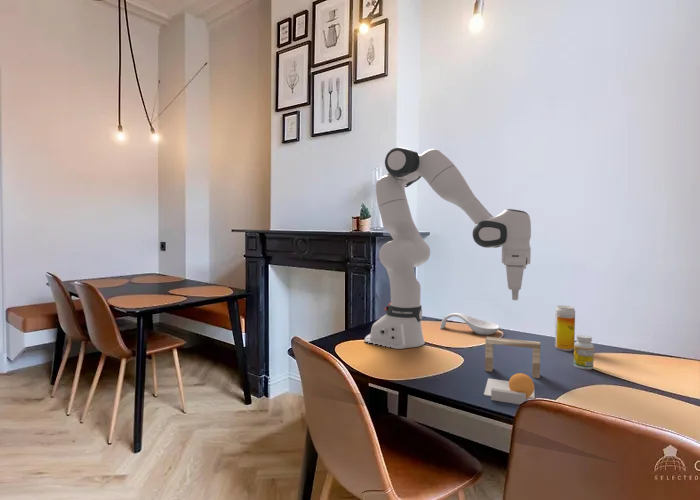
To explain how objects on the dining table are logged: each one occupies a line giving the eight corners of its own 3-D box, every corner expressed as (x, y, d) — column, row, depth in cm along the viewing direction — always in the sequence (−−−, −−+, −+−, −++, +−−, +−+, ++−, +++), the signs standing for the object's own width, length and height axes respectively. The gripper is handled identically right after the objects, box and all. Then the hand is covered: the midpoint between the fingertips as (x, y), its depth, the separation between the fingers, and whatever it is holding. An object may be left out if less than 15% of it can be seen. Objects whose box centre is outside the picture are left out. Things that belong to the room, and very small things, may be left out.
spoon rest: (501, 332, 168) (501, 314, 167) (497, 339, 158) (497, 320, 157) (445, 325, 179) (445, 309, 179) (437, 331, 169) (437, 314, 168)
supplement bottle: (591, 371, 122) (592, 339, 121) (571, 367, 125) (572, 336, 125) (594, 366, 126) (595, 335, 125) (575, 362, 129) (576, 333, 129)
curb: (491, 399, 102) (491, 390, 102) (491, 397, 104) (491, 388, 103) (525, 405, 99) (525, 395, 99) (525, 402, 100) (526, 393, 100)
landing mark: (483, 395, 105) (483, 394, 105) (488, 379, 116) (488, 378, 116) (534, 403, 100) (534, 402, 100) (534, 385, 111) (534, 384, 111)
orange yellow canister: (576, 352, 140) (577, 309, 139) (557, 351, 141) (558, 308, 140) (570, 346, 146) (572, 305, 145) (552, 345, 147) (553, 305, 146)
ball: (507, 397, 102) (508, 373, 103) (509, 393, 107) (510, 370, 108) (533, 402, 99) (534, 377, 100) (534, 397, 105) (535, 373, 105)
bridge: (539, 378, 117) (540, 344, 116) (485, 370, 123) (485, 339, 122) (539, 374, 119) (540, 342, 119) (486, 367, 125) (486, 336, 125)
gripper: (507, 255, 145) (506, 294, 146) (503, 260, 127) (503, 304, 127) (526, 256, 143) (525, 295, 143) (526, 260, 124) (525, 305, 125)
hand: (515, 299), depth 135 cm, fingers closed
